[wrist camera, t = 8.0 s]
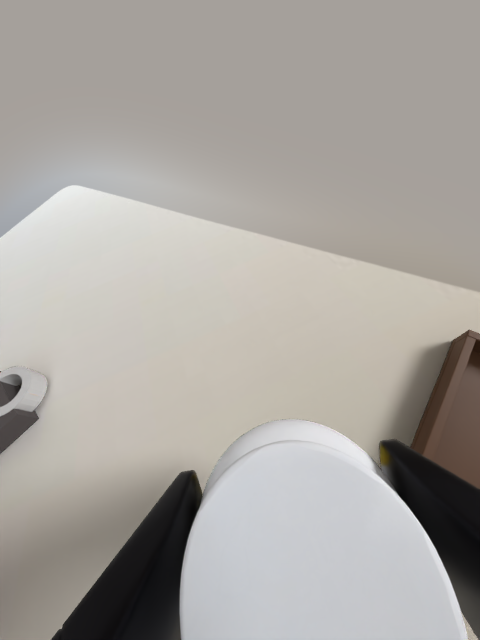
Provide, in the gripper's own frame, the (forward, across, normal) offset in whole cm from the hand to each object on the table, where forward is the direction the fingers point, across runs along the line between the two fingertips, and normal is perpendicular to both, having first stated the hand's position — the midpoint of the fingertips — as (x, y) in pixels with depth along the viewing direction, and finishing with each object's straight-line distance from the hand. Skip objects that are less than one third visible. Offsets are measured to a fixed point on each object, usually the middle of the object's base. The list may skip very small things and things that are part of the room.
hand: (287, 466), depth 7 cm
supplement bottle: (+4, 0, +6) cm, 7 cm away
